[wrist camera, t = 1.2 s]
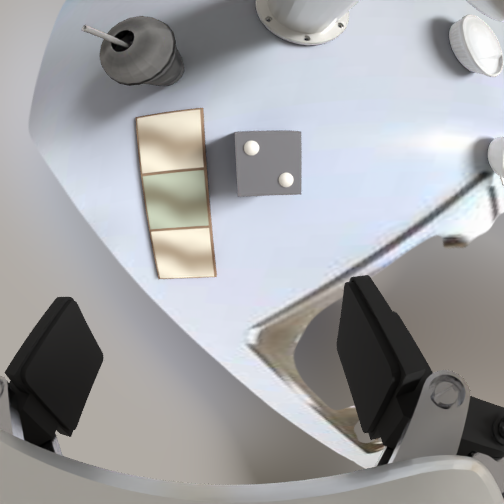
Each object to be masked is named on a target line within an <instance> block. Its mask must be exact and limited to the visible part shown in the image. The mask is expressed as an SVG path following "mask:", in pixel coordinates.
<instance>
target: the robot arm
mask: <svg viewBox="0 0 504 504" xmlns="http://www.w3.org/2000/svg"><path fill="white" fill-rule="evenodd" d="M360 1H361V0H256V2H255V3H256V11H257V14H258V17H259V18H260V20H261V22H262V23H263V24H264V25H265V26H266V28H267V29H269V30H270V31H271V32H272V33H273V34H275V35H277V36H278V37H280V38H282V39H284V40H287V41H289V42H292V43H296V44H301V45H319V44H324V43H327V42H330V41H332V40H334V39H335V38H337V37H338V36H339V35H340V34H341V33H343V31H344V30H345V29H346V27H347V24H348V22H349V10H351V9H352V8H353V7H354V6H355V5H356V4H357V3H358V2H360ZM466 1H467V2H468V3H469V4H471V5H472V6H473V7H474V8H476V9H477V10H478V11H480V12H481V13H482V14H484V15H486V16H488V17H489V18H491V19H494V20H497V21H500V22H504V0H466ZM267 20H269V21H270V22H267ZM338 26H340V27H338ZM304 39H307V40H308V41H305V40H304ZM337 351H338V354H339V357H340V360H341V363H342V366H343V369H344V372H345V375H346V379H347V381H348V385H349V388H350V391H351V394H352V397H353V400H354V404H355V407H356V410H357V414H358V417H359V420H360V424H361V427H362V430H363V432H364V433H369V436H370V439H371V440H372V439H376V438H380V437H381V439H382V442H383V445H385V448H384V449H383V451H382V453H381V455H380V457H379V459H378V461H377V463H376V465H375V466H374V467H372V468H368V469H363V470H358V471H354V472H349V473H345V474H340V475H335V476H329V477H323V478H316V479H309V480H301V481H292V482H283V483H272V484H253V485H213V484H196V483H183V482H174V481H166V480H158V479H151V478H145V477H140V476H134V475H129V474H125V473H120V472H116V471H112V470H107V469H103V468H99V467H96V466H93V465H89V464H86V463H83V462H79V461H76V460H73V459H70V458H67V457H64V456H63V455H62V452H61V449H60V446H59V443H58V440H57V437H56V434H55V431H56V430H57V431H58V432H59V433H60V434H63V435H66V436H69V437H71V435H72V432H73V430H75V429H76V427H77V425H78V422H79V419H80V416H81V414H82V411H83V408H84V406H85V403H86V400H87V398H88V395H89V393H90V391H91V388H92V385H93V383H94V381H95V378H96V376H97V373H98V371H99V369H100V367H101V364H102V362H103V353H102V351H101V349H100V348H99V346H98V344H97V342H96V340H95V338H94V336H93V334H92V333H91V331H90V329H89V327H88V325H87V323H86V321H85V319H84V317H83V315H82V313H81V311H80V308H79V306H78V304H77V302H75V301H74V300H73V298H71V297H57V298H56V299H55V301H54V302H53V303H52V304H51V306H50V307H49V309H48V310H47V311H46V312H45V314H44V315H43V316H42V318H41V319H40V320H39V322H38V323H37V325H36V326H35V327H34V329H33V330H32V332H31V333H30V334H29V336H28V337H27V339H26V340H25V342H24V343H23V345H22V346H21V348H20V349H19V351H18V352H17V354H16V355H15V357H14V359H13V360H12V362H11V363H10V365H9V366H8V368H7V370H6V371H5V374H6V375H7V376H8V377H9V379H10V380H11V381H10V383H8V381H7V380H6V379H5V378H4V377H2V376H0V504H504V408H503V407H500V406H497V405H494V404H491V403H489V402H486V401H483V400H480V399H477V398H475V397H472V396H470V389H469V386H468V384H467V382H466V381H465V379H464V378H463V377H461V376H460V375H459V374H457V373H455V372H453V371H447V370H442V371H437V372H435V373H432V371H431V369H430V367H429V365H428V363H427V362H426V360H425V358H424V357H423V355H422V353H421V351H420V349H419V348H418V346H417V345H416V343H415V341H414V340H413V338H412V336H411V334H410V333H409V331H408V330H407V328H406V326H405V325H404V323H403V321H402V320H401V318H400V317H399V315H398V314H397V313H395V312H394V311H393V312H392V310H391V309H390V307H389V305H388V304H387V302H386V301H385V299H384V297H383V296H382V294H381V293H380V291H379V290H378V288H377V287H376V285H375V284H374V282H373V281H372V279H371V278H370V277H369V276H368V275H365V276H357V277H351V279H350V282H346V283H345V286H344V294H343V302H342V310H341V318H340V325H339V332H338V338H337Z"/></svg>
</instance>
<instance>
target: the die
mask: <svg viewBox="0 0 504 504" xmlns="http://www.w3.org/2000/svg"><path fill="white" fill-rule="evenodd" d="M235 153H236V173H237V192H238V197H242V196H264V195H297V194H301V132H299V131H242V132H235Z"/></svg>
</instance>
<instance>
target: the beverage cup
mask: <svg viewBox="0 0 504 504" xmlns="http://www.w3.org/2000/svg"><path fill="white" fill-rule="evenodd" d="M82 31H85V32H87V33H90V34H93V35H95V36H98V37H100V38H103V39H104V40H103V42H102V44H101V50H100V60H101V65H102V67H103V68H104V70H105V72H106V73H107V74H108V75H109V76H110V77H111V78H112V79H113V80H115V81H116V82H118V83H120V84H124V85H129V86H130V85H140V84H143V83H144V84H151V85H158V86H169V85H172V84H174V83H176V82H177V81H178V80H179V79H180V78H181V77H182V75H183V73H184V64H183V61H182V58H181V56H180V54H179V52H178V50H177V48H176V45H175V44H176V41H175V37H174V33H173V31H172V30H171V29H170V27H169V26H168V25H167V24H165V23H163V22H161V21H160V20H157V19H155V18H151V17H144V16H139V17H133V18H129V19H127V20H124V21H122V22H120V23H118V24H117V25H116V26H114V27H113V28H112V29H111V30H110V31H109V32H108V34H106V33H104V32H102V31H99V30H97V29H94V28H92V27H90V26H87V25H84V26H83V27H82Z"/></svg>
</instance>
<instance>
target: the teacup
mask: <svg viewBox="0 0 504 504" xmlns="http://www.w3.org/2000/svg"><path fill="white" fill-rule="evenodd" d="M488 161H489V164H490V166H491V168H492V169H493V171H494V172H495V173H496V174H498V175H499V176H500V179H501V182H502V185H503V187H504V180H503V178H504V137H498V138H495V139H494V140H492V142H491V143H490V145H489V148H488Z"/></svg>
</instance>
